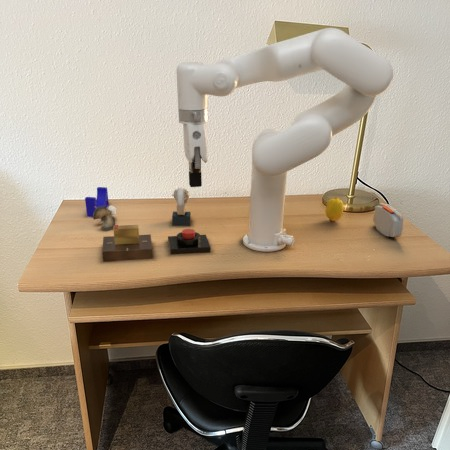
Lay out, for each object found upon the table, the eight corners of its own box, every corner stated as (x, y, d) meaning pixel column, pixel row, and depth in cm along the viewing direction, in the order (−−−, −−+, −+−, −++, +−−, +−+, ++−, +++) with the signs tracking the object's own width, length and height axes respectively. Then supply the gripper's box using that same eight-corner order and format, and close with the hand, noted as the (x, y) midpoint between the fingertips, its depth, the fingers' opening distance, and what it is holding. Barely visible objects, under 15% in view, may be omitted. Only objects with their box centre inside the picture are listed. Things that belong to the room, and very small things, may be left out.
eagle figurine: (88, 217, 154) (87, 222, 146) (99, 197, 153) (98, 201, 144) (110, 229, 157) (110, 235, 148) (121, 209, 155) (121, 214, 147)
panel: (151, 243, 140) (150, 233, 139) (152, 259, 131) (152, 248, 130) (104, 246, 138) (103, 235, 137) (103, 262, 129) (101, 251, 128)
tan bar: (139, 240, 135) (138, 223, 132) (139, 243, 133) (138, 227, 130) (115, 241, 134) (113, 224, 131) (114, 244, 132) (113, 228, 129)
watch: (190, 218, 158) (190, 185, 153) (190, 228, 151) (189, 193, 146) (173, 218, 158) (172, 185, 152) (171, 228, 151) (170, 193, 145)
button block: (205, 239, 144) (205, 228, 142) (210, 252, 136) (210, 240, 134) (168, 241, 142) (167, 230, 140) (170, 254, 134) (170, 243, 132)
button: (194, 234, 139) (194, 228, 138) (195, 239, 136) (195, 233, 135) (181, 234, 139) (181, 228, 138) (182, 239, 135) (182, 233, 135)
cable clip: (100, 217, 158) (98, 199, 155) (87, 216, 158) (84, 198, 155) (113, 204, 168) (111, 187, 165) (100, 204, 168) (98, 186, 165)
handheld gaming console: (400, 241, 145) (406, 216, 141) (391, 242, 145) (397, 216, 141) (378, 223, 158) (382, 199, 154) (369, 224, 157) (373, 200, 153)
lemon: (336, 217, 162) (339, 193, 158) (344, 223, 157) (348, 199, 153) (321, 219, 160) (324, 195, 156) (329, 225, 156) (332, 200, 152)
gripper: (213, 120, 120) (214, 193, 129) (202, 110, 133) (204, 177, 142) (182, 121, 119) (185, 195, 128) (175, 111, 132) (178, 179, 141)
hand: (195, 185), depth 135 cm, fingers closed
